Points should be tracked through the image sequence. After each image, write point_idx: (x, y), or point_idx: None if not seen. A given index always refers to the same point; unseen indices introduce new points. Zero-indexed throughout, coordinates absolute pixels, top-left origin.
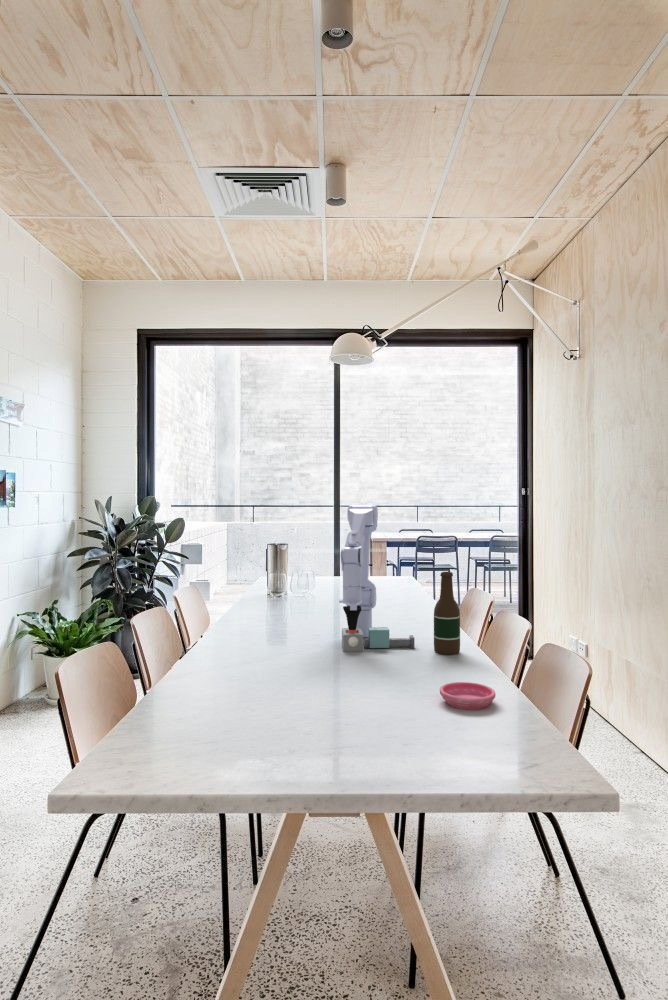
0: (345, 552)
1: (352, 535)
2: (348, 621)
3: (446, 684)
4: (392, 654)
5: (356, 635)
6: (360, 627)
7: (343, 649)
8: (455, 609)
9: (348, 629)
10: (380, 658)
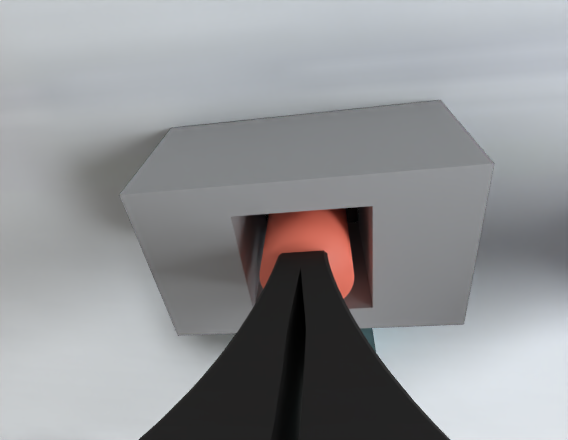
0: None
1: None
2: (248, 324)
3: None
4: (176, 361)
5: (164, 292)
6: None
7: (166, 135)
8: None
9: (306, 247)
10: (80, 319)
